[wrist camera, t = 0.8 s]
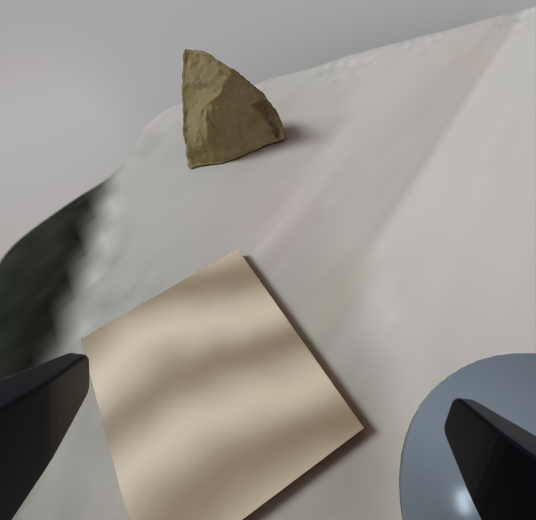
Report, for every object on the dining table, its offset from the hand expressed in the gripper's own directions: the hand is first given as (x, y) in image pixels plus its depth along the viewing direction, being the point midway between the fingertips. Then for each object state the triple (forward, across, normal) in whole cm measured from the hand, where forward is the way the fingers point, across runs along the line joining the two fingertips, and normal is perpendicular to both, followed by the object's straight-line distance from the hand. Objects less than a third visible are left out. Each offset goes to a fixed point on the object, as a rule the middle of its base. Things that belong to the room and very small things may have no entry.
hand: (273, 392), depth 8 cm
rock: (+32, +4, -7) cm, 33 cm away
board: (+13, +3, +10) cm, 16 cm away
